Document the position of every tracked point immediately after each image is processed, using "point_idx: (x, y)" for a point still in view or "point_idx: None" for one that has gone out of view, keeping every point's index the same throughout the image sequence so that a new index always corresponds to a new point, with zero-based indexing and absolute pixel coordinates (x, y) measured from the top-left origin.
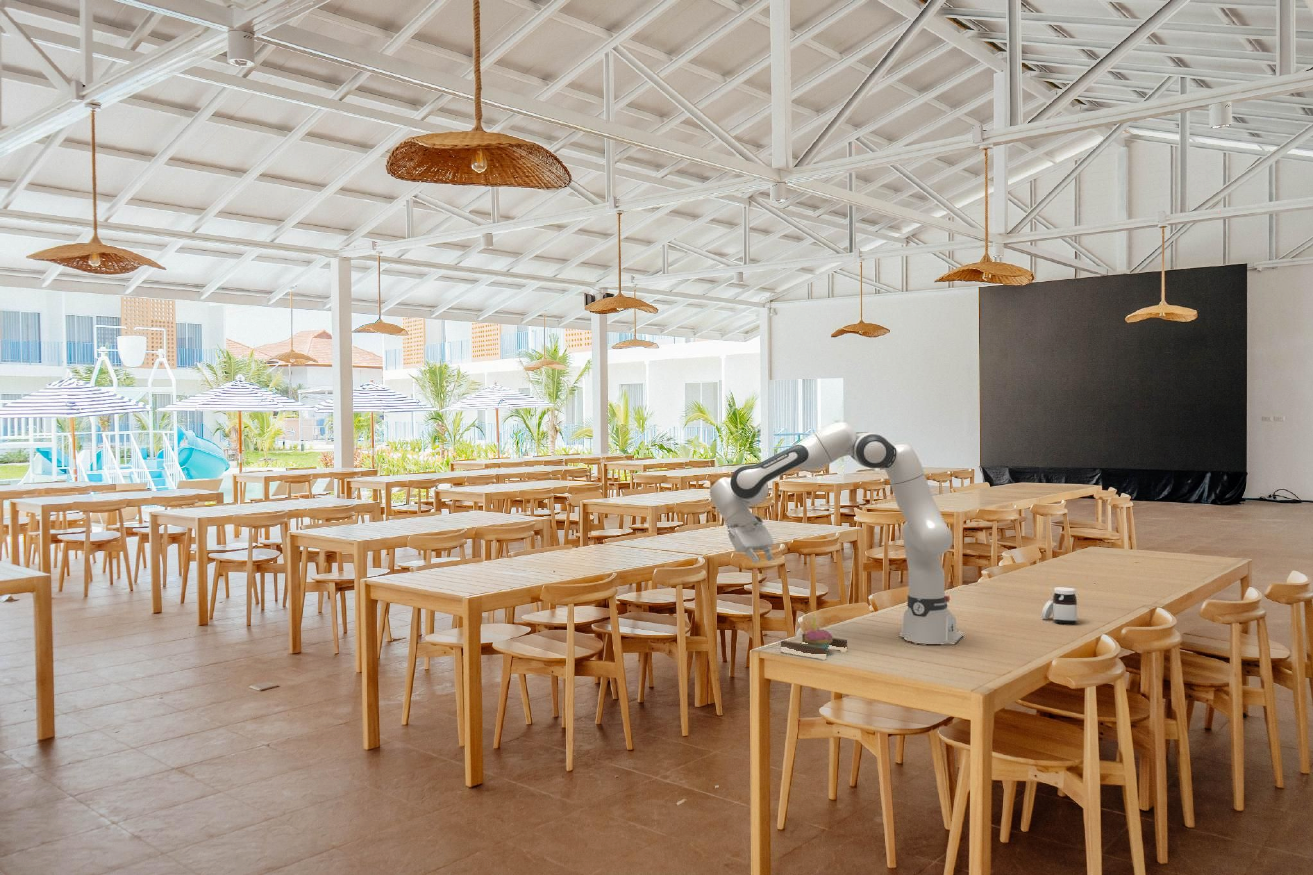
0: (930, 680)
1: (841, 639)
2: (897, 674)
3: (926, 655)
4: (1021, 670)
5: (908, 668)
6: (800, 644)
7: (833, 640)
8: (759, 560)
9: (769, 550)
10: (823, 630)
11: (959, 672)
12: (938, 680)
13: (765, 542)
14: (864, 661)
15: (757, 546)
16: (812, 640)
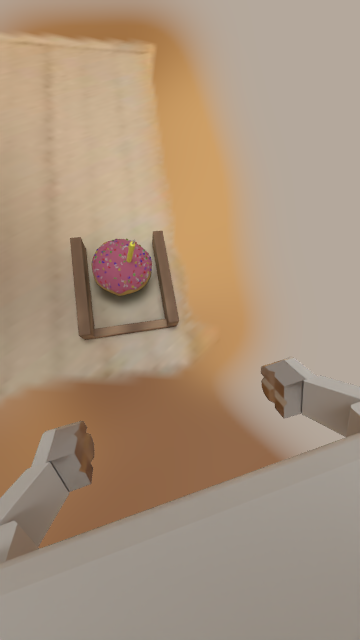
0: (140, 96)
1: (75, 247)
2: (146, 133)
3: (7, 147)
4: (2, 34)
5: (106, 136)
6: (170, 277)
7: (83, 262)
8: (265, 365)
9: (16, 508)
10: (111, 252)
11: (74, 83)
12: (132, 89)
13: (29, 588)
14: (117, 196)
15: (265, 470)
16: (151, 259)
